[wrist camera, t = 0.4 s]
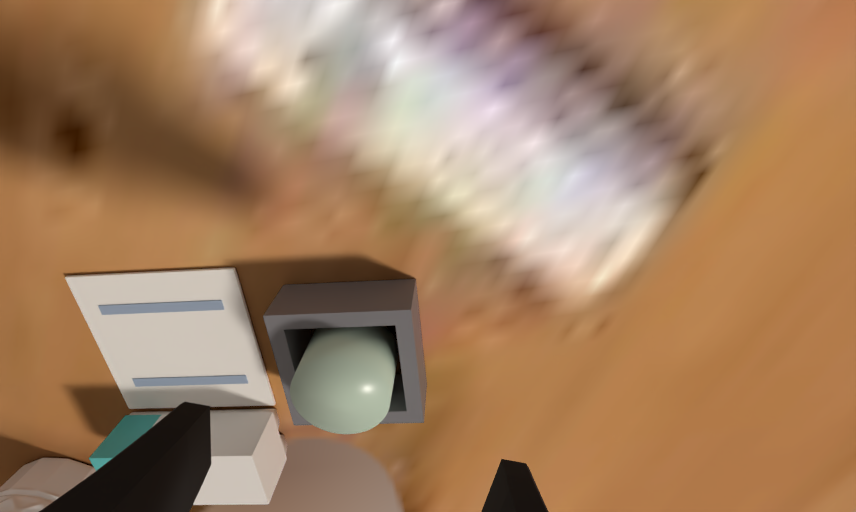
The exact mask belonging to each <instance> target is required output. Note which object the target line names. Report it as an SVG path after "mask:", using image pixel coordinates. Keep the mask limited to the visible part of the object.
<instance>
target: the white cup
mask: <svg viewBox="0 0 856 512" xmlns="http://www.w3.org/2000/svg"><path fill="white" fill-rule="evenodd" d="M95 471H96V470H95V468H94V467H92V466H89V465H86V464H83V463H81V462H77V461H74V460H71V459H67V458H41V459H38V460H36V461H33V462H30V463H28V464H25V465H24V466H22V467H21V468H20V469H19V470H18V471H17V472H16V473H15V474H14V475H13V476H12V477H11V478H10V479H8V480H7V481H6V482H5V483H4V484H3V485H2V486H1V487H0V512H39V511H41V510H42V509H43V508H45V507H46V506H48V505H49V504H51V503H52V502H53V501H55V500H56V499H58V498H59V497H60V496H62V495H63V494H65V493H66V492H68V491H69V490H70V489H72V488H73V487H75V486H76V485H77V484H79V483H80V482H82V481H83V480H84V479H86V478H87V477H89V476H90V475H91V474H93V473H94V472H95Z"/></svg>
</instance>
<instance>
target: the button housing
mask: <svg viewBox="0 0 856 512" xmlns="http://www.w3.org/2000/svg"><path fill="white" fill-rule="evenodd" d="M263 318H264V321H265V325H266V328H267V332H268V335H269V339H270V342H271V346H272V349H273V353H274V357H275V360H276V364H277V367H278V371H279V374H280V378H281V381H282V385H283V388H284V392H285V395H286V399H287V402H288V406H289V410H290V413H291V417H292V420H293V424H294V425H312V424H311V423H309V422H308V421H306V420H305V419H304V418H303V417H302V416H301V415H300V414H299V413H298V411H297V410H296V409H295V407H294V405H293V403H292V400H291V396H290V385H291V381H292V379H293V376H294V374H295V372H296V370H297V368H298V366H299V363H300V361H301V359H302V357H303V355H304V353H305V350H306V348H307V346H308V344H309V342H310V340H311V334H310V330H309V329H312V328H339V327H365V326H392V325H395V327H396V334H397V341H398V349H399V356H400V364H401V371H402V374H395V378H394V384H393V390H392V396H391V402H390V407H389V411H388V413H387V415H386V416H385V418H384V419H383V420H382V421H381V422H380V423H379V424H383V423H424V414H425V401H426V388H427V381H426V372H425V362H424V353H423V343H422V334H421V324H420V315H419V305H418V295H417V286H416V279H401V280H379V281H357V282H336V283H314V284H292V285H283V287H282V288H281V290H280V291H279V293H278V294H277V296H276V297H275V299H274V300H273V302H272V303H271V305H270V306H269V308H268V309H267V311H266V312H265V314H264V315H263Z"/></svg>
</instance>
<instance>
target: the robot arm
mask: <svg viewBox="0 0 856 512" xmlns="http://www.w3.org/2000/svg"><path fill="white" fill-rule="evenodd" d="M210 466H211V427H210V406H207V405H201V404H196V403H190V402H183V403H181V404H180V405H179V406H177V407H176V408H175V409H174V410H173V411H171V412H170V413H169V414H168V415H166V416H165V417H164V418H163V419H162V420H160V421H159V422H158V423H157V424H155V425H154V426H153V427H152V428H150V429H149V430H148V431H147V432H146V433H144V434H143V435H142V436H140V437H139V438H138V439H137V440H135V441H134V442H133V443H132V444H130V445H129V446H128V447H127V448H125V449H124V450H123V451H121V452H120V453H119V454H118V455H116V456H115V457H114V458H112V459H111V460H110V461H108V462H107V463H106V464H104V465H103V466H102V467H100V468H99V469H98V470H97V471H95V472H94V473H93V474H91V475H90V476H89V477H87V478H86V479H84V480H83V481H82V482H80V483H79V484H77V485H76V486H75V487H73V488H72V489H70V490H69V491H68V492H66V493H65V494H63V495H62V496H60V497H59V498H58V499H56V500H55V501H53V502H52V503H51V504H49V505H48V506H46V507H45V508H43V509H42V510H41V511H39V512H189V511H190V509H191V508H192V505H193V503H194V501H195V499H196V497H197V495H198V493H199V491H200V489H201V486H202V484H203V482H204V480H205V477H206V475H207V473H208V471H209V468H210ZM482 512H548V510H547V508H546V506H545V503H544V501H543V499H542V497H541V495H540V492H539V490H538V488H537V486H536V483H535V481H534V479H533V477H532V474H531V472H530V470H529V467H528V466H527V464H526V463H520V462H515V461H509V460H504V459H502V460H501V462H500V465H499V467H498V470H497V473H496V475H495V478H494V480H493V483H492V486H491V488H490V491H489V494H488V496H487V499H486V501H485V504H484V507H483V509H482Z"/></svg>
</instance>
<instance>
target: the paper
mask: <svg viewBox="0 0 856 512" xmlns="http://www.w3.org/2000/svg"><path fill="white" fill-rule="evenodd" d="M65 279H66V281H67V283H68V285H69V287H70V289H71V291H72V293H73V295H74V297H75V299H76V301H77V303H78V305H79V307H80V309H81V311H82V314H83V316H84V318H85V320H86V322H87V324H88V326H89V328H90V330H91V332H92V334H93V336H94V338H95V340H96V342H97V344H98V346H99V348H100V350H101V353H102V355H103V357H104V359H105V361H106V363H107V365H108V367H109V369H110V371H111V373H112V375H113V377H114V379H115V381H116V383H117V385H118V387H119V389H120V391H121V394H122V396H123V398H124V400H125V402H126V404H127V406H128V408H129V409H145V408H176V407H177V406H179V405H180V404H181V403H183V402H190V403H196V404H201V405H207V406H210V407H227V406H269V405H275V399H274V396H273V393H272V389H271V386H270V383H269V379H268V376H267V372H266V369H265V366H264V362H263V359H262V356H261V352H260V349H259V346H258V342H257V339H256V336H255V332H254V329H253V326H252V322H251V319H250V315H249V312H248V309H247V305H246V302H245V299H244V295H243V292H242V289H241V285H240V282H239V279H238V275H237V272H236V269H235V267H233V268H212V269H192V270H172V271H152V272H132V273H111V274H91V275H71V276H66V277H65Z"/></svg>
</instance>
